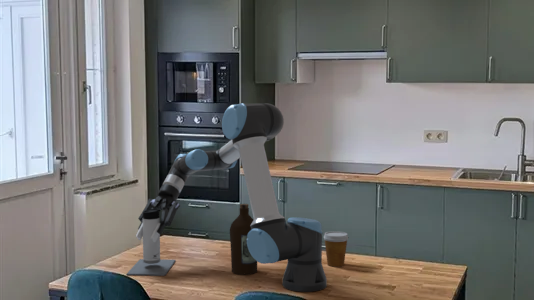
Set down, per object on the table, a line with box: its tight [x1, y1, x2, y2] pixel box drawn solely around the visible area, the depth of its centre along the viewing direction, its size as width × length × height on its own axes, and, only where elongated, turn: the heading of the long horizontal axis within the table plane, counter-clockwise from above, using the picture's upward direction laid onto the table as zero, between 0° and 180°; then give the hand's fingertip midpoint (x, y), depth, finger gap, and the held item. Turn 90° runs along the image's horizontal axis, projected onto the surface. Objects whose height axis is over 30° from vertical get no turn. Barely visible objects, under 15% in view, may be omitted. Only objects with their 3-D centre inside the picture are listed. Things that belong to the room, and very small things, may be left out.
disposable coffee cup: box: [322, 230, 349, 268], centre depth 252 cm, size 10×10×12 cm
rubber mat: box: [126, 258, 176, 277], centre depth 248 cm, size 20×14×1 cm
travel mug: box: [142, 208, 161, 264], centre depth 247 cm, size 6×7×20 cm
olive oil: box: [229, 203, 258, 276], centre depth 242 cm, size 11×11×25 cm
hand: (145, 238), depth 244 cm, fingers closed on travel mug, 6 cm apart
